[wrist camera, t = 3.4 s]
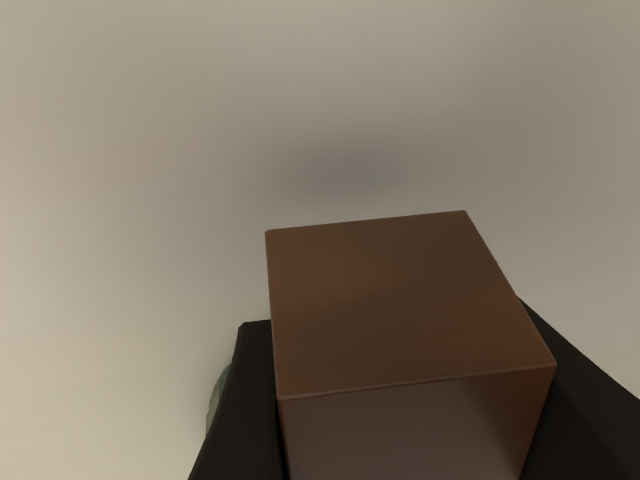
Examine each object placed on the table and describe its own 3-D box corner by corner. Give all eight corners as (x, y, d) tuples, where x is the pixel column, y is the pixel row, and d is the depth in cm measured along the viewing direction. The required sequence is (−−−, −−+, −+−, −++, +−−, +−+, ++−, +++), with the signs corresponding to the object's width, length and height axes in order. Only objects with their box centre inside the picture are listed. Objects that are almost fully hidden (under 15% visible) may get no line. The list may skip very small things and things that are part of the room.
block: (466, 208, 11) (560, 364, 8) (445, 346, 13) (511, 508, 10) (264, 229, 11) (276, 399, 7) (281, 366, 13) (295, 539, 10)
